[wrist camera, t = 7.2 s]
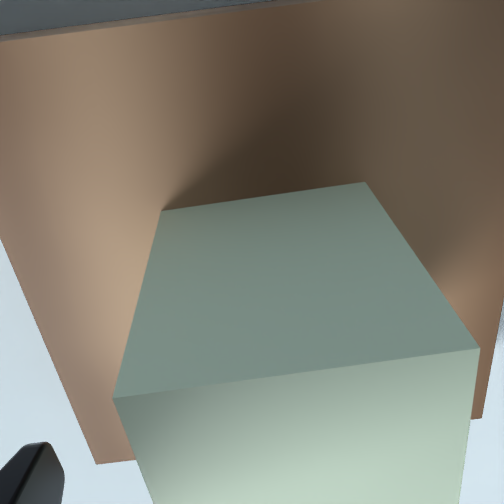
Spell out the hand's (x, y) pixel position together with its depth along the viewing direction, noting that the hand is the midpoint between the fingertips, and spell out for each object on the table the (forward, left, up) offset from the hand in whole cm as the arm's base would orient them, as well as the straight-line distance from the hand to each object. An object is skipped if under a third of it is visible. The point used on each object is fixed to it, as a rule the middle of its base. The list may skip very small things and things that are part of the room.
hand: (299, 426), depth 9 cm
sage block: (0, 0, -5) cm, 5 cm away
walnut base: (0, 0, -8) cm, 8 cm away
